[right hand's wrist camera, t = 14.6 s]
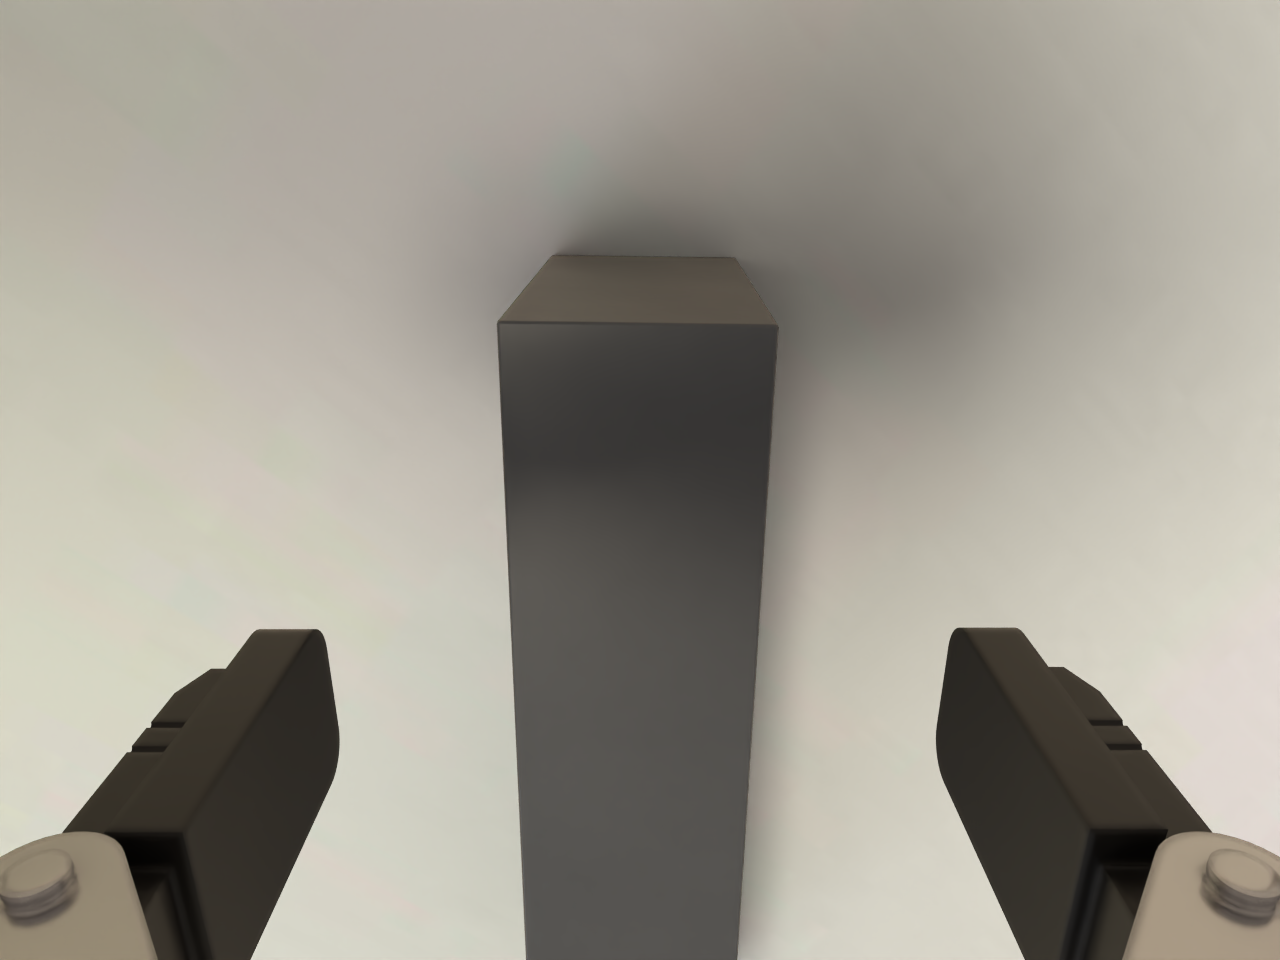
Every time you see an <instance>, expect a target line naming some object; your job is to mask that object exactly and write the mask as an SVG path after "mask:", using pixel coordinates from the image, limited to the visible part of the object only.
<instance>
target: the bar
mask: <svg viewBox="0 0 1280 960" xmlns="http://www.w3.org/2000/svg"><path fill="white" fill-rule="evenodd" d="M497 337H498V358H499V380H500V402H501V424H502V445H503V467H504V489H505V511H506V532H507V554H508V576H509V597H510V619H511V641H512V663H513V684H514V706H515V728H516V750H517V771H518V793H519V815H520V837H521V858H522V880H523V902H524V924H525V945H526V960H737V954H738V939H739V924H740V909H741V893H742V878H743V863H744V847H745V832H746V817H747V802H748V786H749V771H750V756H751V741H752V725H753V710H754V695H755V680H756V664H757V649H758V634H759V618H760V603H761V588H762V573H763V557H764V542H765V527H766V512H767V496H768V481H769V466H770V451H771V435H772V420H773V405H774V389H775V374H776V359H777V344H778V325H777V323H776V322H775V320H774V319H773V317H772V315H771V314H770V312H769V311H768V309H767V307H766V306H765V304H764V303H763V301H762V300H761V298H760V296H759V295H758V293H757V292H756V290H755V289H754V287H753V285H752V284H751V282H750V281H749V279H748V277H747V276H746V274H745V273H744V271H743V270H742V268H741V266H740V265H739V263H738V262H737V260H736V259H735V258H724V257H645V256H567V255H553V256H551V257H550V259H549V260H548V261H547V262H546V264H545V265H544V266H543V267H542V268H541V270H540V271H539V272H538V273H537V274H536V276H535V277H534V278H533V279H532V281H531V282H530V283H529V284H528V285H527V287H526V288H525V289H524V290H523V291H522V293H521V294H520V295H519V296H518V297H517V299H516V300H515V301H514V302H513V304H512V305H511V306H510V307H509V308H508V310H507V311H506V312H505V313H504V314H503V316H502V317H501V318H500V319H499V321H498V322H497Z"/></svg>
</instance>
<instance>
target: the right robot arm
mask: <svg viewBox="0 0 1280 960" xmlns="http://www.w3.org/2000/svg"><path fill="white" fill-rule="evenodd" d="M936 749H937V758H938V764H939V768H940V772H941V776H942V778H943V781H944V783H945V786H946V788H947V790H948V792H949V794H950V796H951V799H952V801H953V803H954V805H955V807H956V810H957V812H958V814H959V816H960V818H961V821H962V823H963V825H964V827H965V829H966V832H967V834H968V836H969V838H970V840H971V843H972V845H973V847H974V849H975V851H976V853H977V856H978V858H979V860H980V862H981V864H982V867H983V869H984V871H985V873H986V875H987V878H988V880H989V882H990V884H991V886H992V889H993V891H994V893H995V895H996V897H997V900H998V902H999V904H1000V906H1001V908H1002V911H1003V913H1004V915H1005V917H1006V919H1007V921H1008V924H1009V926H1010V928H1011V930H1012V932H1013V935H1014V937H1015V939H1016V941H1017V943H1018V946H1019V948H1020V950H1021V952H1022V954H1023V957H1024V959H1025V960H1280V857H1279V856H1277V855H1275V854H1273V853H1271V852H1269V851H1267V850H1266V849H1264V848H1261V847H1259V846H1257V845H1254V844H1252V843H1250V842H1247V841H1244V840H1241V839H1238V838H1235V837H1231V836H1227V835H1223V834H1218V833H1212V831H1211V830H1210V829H1209V828H1208V826H1207V825H1206V824H1205V823H1204V821H1203V820H1202V819H1201V818H1200V816H1199V815H1198V814H1197V813H1196V811H1195V810H1194V809H1193V808H1192V806H1191V805H1190V804H1189V803H1188V801H1187V800H1186V799H1185V798H1184V796H1183V795H1182V794H1181V793H1180V791H1179V790H1178V789H1177V788H1176V786H1175V785H1174V784H1173V783H1172V781H1171V780H1170V779H1169V778H1168V776H1167V775H1166V774H1165V773H1164V771H1163V770H1162V769H1161V768H1160V766H1159V765H1158V764H1157V763H1156V761H1155V760H1154V759H1153V758H1152V756H1151V755H1150V754H1149V753H1148V751H1147V750H1142V744H1141V743H1140V741H1139V740H1138V739H1137V737H1136V736H1135V735H1134V734H1133V732H1132V731H1131V730H1130V729H1129V727H1128V726H1123V720H1122V719H1121V717H1120V716H1119V715H1118V714H1117V712H1116V711H1115V710H1114V709H1113V707H1112V706H1111V705H1110V704H1109V702H1108V701H1107V700H1106V699H1105V697H1104V696H1103V695H1102V694H1101V692H1100V691H1098V690H1097V689H1095V688H1094V687H1092V686H1091V685H1089V684H1088V683H1086V682H1085V681H1083V680H1082V679H1080V678H1079V677H1078V676H1076V675H1075V674H1073V673H1072V672H1070V671H1069V670H1067V669H1066V668H1064V667H1048V666H1047V664H1046V663H1045V662H1044V660H1043V659H1042V658H1041V656H1040V655H1039V654H1038V652H1037V651H1036V649H1035V648H1034V647H1033V645H1032V644H1031V643H1030V641H1029V640H1028V639H1027V637H1026V636H1025V635H1024V633H1023V632H1022V631H1021V630H1019V629H1018V628H957V629H955V630H954V632H953V633H952V635H951V638H950V641H949V647H948V653H947V660H946V667H945V674H944V681H943V688H942V694H941V701H940V708H939V715H938V722H937V730H936ZM338 756H339V727H338V720H337V713H336V707H335V700H334V693H333V687H332V680H331V673H330V666H329V660H328V653H327V647H326V642H325V639H324V636H323V634H322V633H321V631H319V630H317V629H259V630H256V631H255V632H254V633H253V634H252V635H251V636H250V637H249V639H248V640H247V641H246V643H245V644H244V645H243V647H242V648H241V649H240V651H239V652H238V653H237V655H236V656H235V657H234V659H233V660H232V661H231V663H230V664H229V665H228V667H227V668H226V669H210V670H209V671H207V672H206V673H204V674H203V675H201V676H200V677H198V678H197V679H195V680H194V681H192V682H191V683H189V684H188V685H186V686H185V687H183V688H182V689H180V690H179V691H177V692H176V693H174V695H173V696H172V697H171V698H170V700H169V701H168V702H167V703H166V705H165V706H164V707H163V708H162V710H161V711H160V712H159V713H158V715H157V716H156V717H155V718H154V719H153V721H152V722H151V728H146V729H145V731H144V732H143V733H142V734H141V736H140V737H139V738H138V739H137V741H136V742H135V743H134V744H133V746H132V751H131V752H127V753H126V754H125V755H124V757H123V758H122V759H121V760H120V762H119V763H118V764H117V765H116V767H115V768H114V769H113V770H112V772H111V773H110V774H109V775H108V777H107V778H106V779H105V780H104V782H103V783H102V784H101V785H100V787H99V788H98V789H97V790H96V791H95V793H94V794H93V795H92V796H91V798H90V799H89V800H88V801H87V803H86V804H85V805H84V806H83V808H82V809H81V810H80V811H79V813H78V814H77V815H76V816H75V818H74V819H73V820H72V821H71V823H70V824H69V825H68V826H67V827H66V829H65V830H64V831H63V832H62V834H57V835H53V836H49V837H45V838H42V839H39V840H36V841H33V842H30V843H28V844H26V845H23V846H21V847H19V848H16V849H14V850H13V851H11V852H9V853H7V854H5V855H3V856H1V857H0V960H250V959H251V957H252V955H253V953H254V951H255V949H256V946H257V944H258V942H259V940H260V938H261V936H262V933H263V931H264V929H265V927H266V925H267V923H268V920H269V918H270V916H271V914H272V912H273V910H274V907H275V905H276V903H277V901H278V899H279V897H280V894H281V892H282V890H283V888H284V886H285V884H286V881H287V879H288V877H289V875H290V873H291V871H292V868H293V866H294V864H295V862H296V860H297V858H298V855H299V853H300V851H301V849H302V847H303V845H304V842H305V840H306V838H307V836H308V834H309V832H310V829H311V827H312V825H313V823H314V821H315V819H316V816H317V814H318V812H319V810H320V808H321V806H322V803H323V801H324V799H325V797H326V795H327V793H328V790H329V788H330V786H331V784H332V781H333V779H334V776H335V772H336V768H337V763H338Z"/></svg>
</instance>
